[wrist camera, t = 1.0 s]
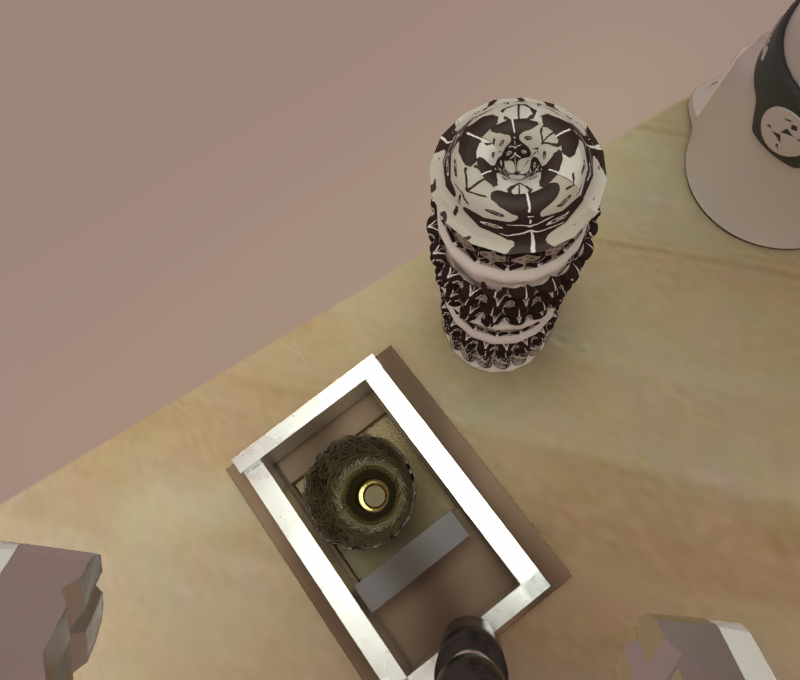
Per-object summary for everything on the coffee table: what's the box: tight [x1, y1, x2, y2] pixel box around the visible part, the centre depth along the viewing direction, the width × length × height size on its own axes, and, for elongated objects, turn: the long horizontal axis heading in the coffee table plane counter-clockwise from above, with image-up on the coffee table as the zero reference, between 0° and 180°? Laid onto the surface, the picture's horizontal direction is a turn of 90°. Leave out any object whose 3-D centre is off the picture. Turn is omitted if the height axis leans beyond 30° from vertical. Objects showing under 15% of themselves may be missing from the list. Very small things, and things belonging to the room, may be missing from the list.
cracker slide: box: [232, 354, 550, 680], centre depth 39 cm, size 12×21×19 cm, turn 37°
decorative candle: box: [427, 97, 607, 373], centre depth 41 cm, size 9×9×25 cm
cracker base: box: [226, 346, 572, 680], centre depth 47 cm, size 16×22×6 cm
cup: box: [302, 433, 416, 550], centre depth 46 cm, size 8×7×8 cm
